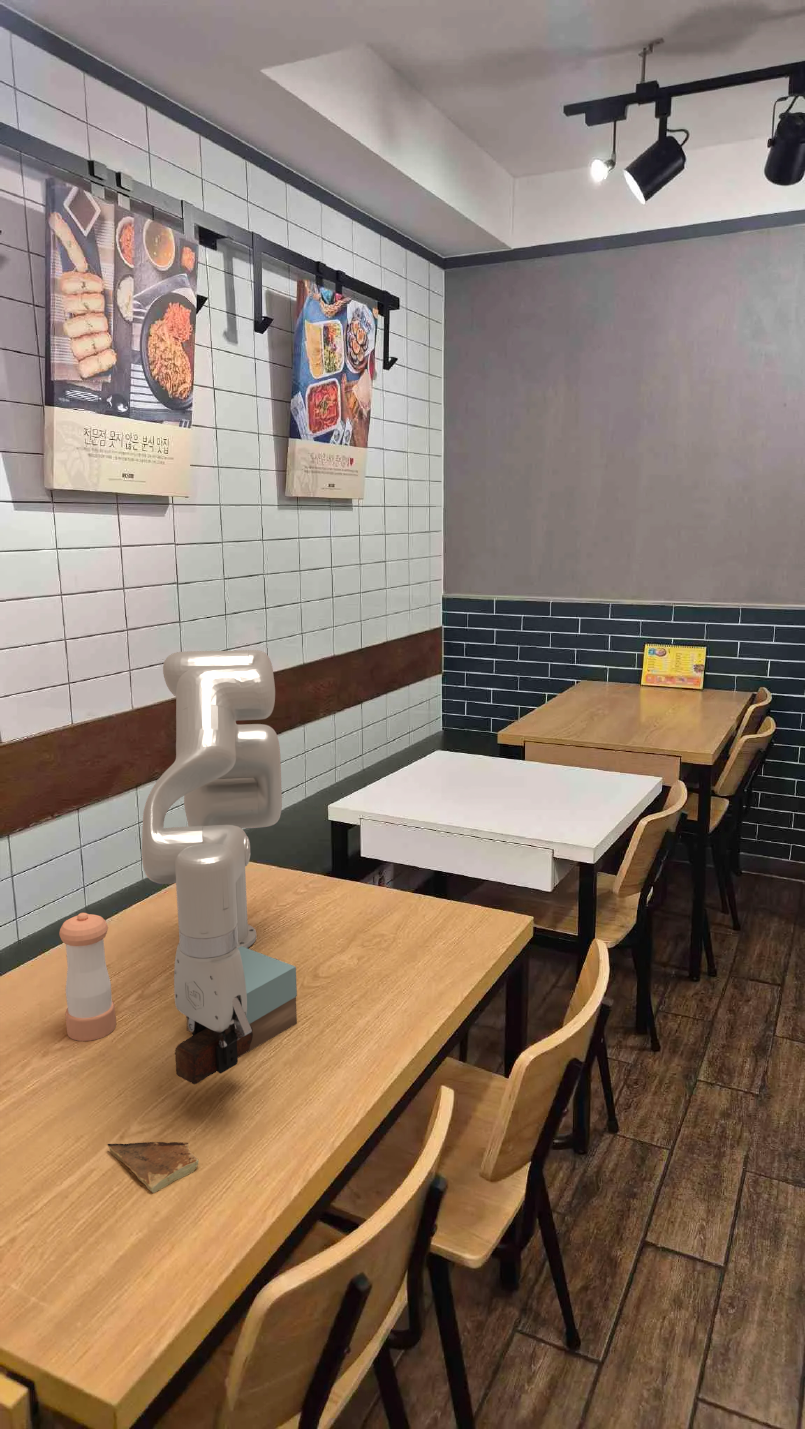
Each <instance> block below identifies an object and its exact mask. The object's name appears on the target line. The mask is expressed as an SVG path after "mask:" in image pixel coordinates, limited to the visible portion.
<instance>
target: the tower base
mask: <svg viewBox="0 0 805 1429" xmlns="http://www.w3.org/2000/svg"><path fill="white" fill-rule="evenodd" d="M297 1014H298V1012H297V996H296V997H295V998H293V999H291V1000H289V1001H288V1002H286V1003H284V1004H283V1005H281V1006H279V1007H278V1008H276V1009H274V1010H272V1011H271V1012H269V1013H267V1014H266V1015H264V1016H262V1017H260V1018H259V1019H257V1020H255V1021H254V1022H252V1023H250V1025H251V1027H252V1029H253V1030H252V1033H253V1038H252V1041H251V1044H250V1049H249V1050H248V1051H247V1052H246V1053H244V1054H243V1055H241V1056H240V1057H239V1058H241V1057H242V1056H244V1055H247V1053H249V1052H251V1051H252V1050H255V1049H256V1048H257V1047H259V1046H261V1045H262V1044H264V1043H266V1042H268V1041H270V1040H271V1039H273V1038H275V1037H276V1036H278V1035H279V1034H281V1033H284V1032H285V1031H287V1030H288V1029H291V1028H292V1027H294V1026H295V1025H297V1024H298V1023H297V1022H298V1021H297V1020H298V1019H297V1016H298V1015H297ZM185 1022H186V1023H185V1024H186V1031H187V1032H189V1033H191V1034H192V1033H193V1031H191V1030H190V1029H189V1027H188V1023H189V1020H188V1018H187V1016H186V1015H185Z"/></svg>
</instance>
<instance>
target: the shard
mask: <svg viewBox="0 0 805 1429" xmlns="http://www.w3.org/2000/svg"><path fill="white" fill-rule="evenodd" d="M106 1145H107V1147H108V1149H109V1153H110V1154H111V1155H112V1156H114V1157H115V1158H116V1159H117V1160H118V1161H120V1162H122V1164H124V1165H125V1166H126V1167H127V1168H128V1169H129V1170H130V1171H131V1172H132V1173H133V1174H135V1176H136V1177H137V1179H138V1180H139V1181H140V1182H141V1183H142V1184H144V1185H145V1186H146V1188H147V1190H148V1191H150V1192H151V1193H152V1194H154V1193H156V1192H158V1191H160V1190H162V1189H163V1188H166V1186H168V1185H170V1184H172V1183H173V1182H175V1181H177V1180H180V1179H182V1178H184V1177H186V1176H188V1175H190V1174H191V1173H193V1172H195V1170H196V1169H197V1167H198V1165H199V1158H198V1157H197V1156H196V1155H194V1153H192V1152H191V1150H190V1148H189V1142H182V1141H181V1142H179V1141H170V1142H165V1141H157V1142H156V1141H149V1142H146V1141H145V1142H144V1141H143V1142H128V1143H107V1144H106Z"/></svg>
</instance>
